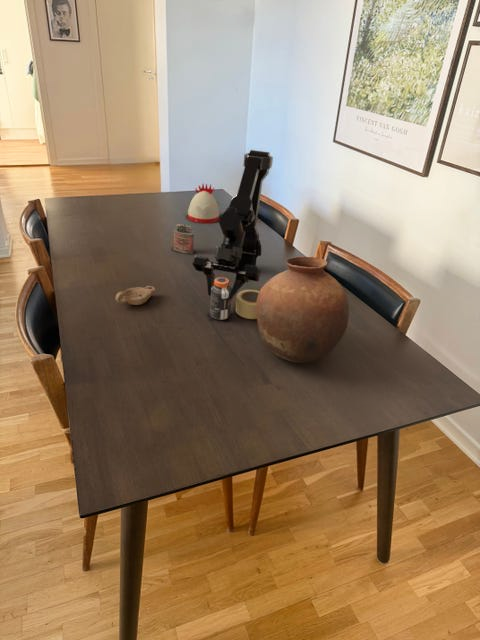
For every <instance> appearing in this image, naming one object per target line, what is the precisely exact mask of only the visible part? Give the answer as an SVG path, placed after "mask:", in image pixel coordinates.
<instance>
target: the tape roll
mask: <svg viewBox="0 0 480 640" xmlns="http://www.w3.org/2000/svg"><path fill="white" fill-rule="evenodd" d="M259 292H260V290H256V289H243V290H241V291H239V292H237V293H236V301H235V313H236V314H237V315H238V316H240V317H241V318H243V319H249V320H257V312H256V303H257V297H258V294H259Z"/></svg>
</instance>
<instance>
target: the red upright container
mask: <svg viewBox="0 0 480 640" xmlns="http://www.w3.org/2000/svg"><path fill="white" fill-rule="evenodd" d="M194 236H195V232H194V231H193V227H192V226H190V225H186V224H185V223H182V224H179V223H176V228H174V229H173V251H176V252H179V253H181V254H188V255H192V254H195V253H194V252H195V251H194Z"/></svg>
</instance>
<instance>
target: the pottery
mask: <svg viewBox="0 0 480 640" xmlns="http://www.w3.org/2000/svg"><path fill="white" fill-rule="evenodd" d="M285 265H286V266H287V267H288V269H286V270H284V271H281V272H279V273H277V274H276V275H274V276H273V277H271V278H270V279H269V280H268V281H266V282H265V283H264V285H263V286H262V287H260V290H259V291H260V292H259V294H258V297H257V303H256V312H257V319H256V321H257V329H258V332H259V336H260V338H261V340H262V342H263V344H264V345H265V347H266V349H267V350H268V351H269V352H270V353H272V354H273V355H275V356H277V357H279V358H281V359H282V360H286V361H288V362H292V363H295V364H296V363H297V364H307V363H313V362H316V361H319V360H321V359H322V358H324V357H326V356H327V355H329V354H330V353H332V351H333V350H334V349H335V348H336V346H337V345H338V344H339V343H340V341H341V340H342V339H343V337H344V335H345V334H346V331H347V328H348V325H349V315H350V309H349V308H350V307H349V299H348V296H347V293H346V290H344V288H343V286H342V285H341V283H340V282H338V280H337V279H336V278H334V277H333V275H331V274H329V273H328V272H326V271H325V270H324V269H325V268H326V267H327V266H328V265H329V263H328V261H327V260H325V259H324V258H321V257H314V256H294V257H289V258H287V260H286V261H285Z"/></svg>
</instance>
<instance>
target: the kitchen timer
mask: <svg viewBox="0 0 480 640" xmlns="http://www.w3.org/2000/svg"><path fill="white" fill-rule="evenodd" d="M214 190H215V187H213V188H212V184H210V185H209V187H208V184H207V183H205V184H204V183H202V185H201V186H200V185H198V189H197V188H196V187H195V192H196V193H195V195H194V196H193V197H192V199H191V201H190V204H189V207H188V210H187V218H188V220H190V221H192V222H195V223H199V224H200V223H201V224H211V223H215V222H219V218H220V209H219V203H218V201H217V199H216V198H215V197H214V195H213V192H214Z"/></svg>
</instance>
